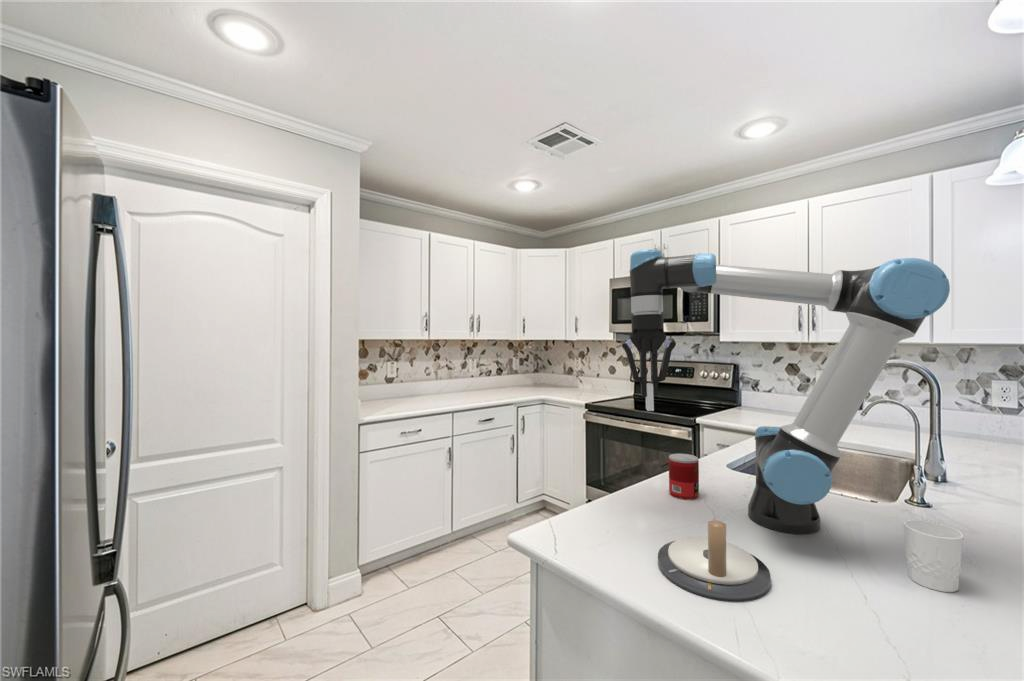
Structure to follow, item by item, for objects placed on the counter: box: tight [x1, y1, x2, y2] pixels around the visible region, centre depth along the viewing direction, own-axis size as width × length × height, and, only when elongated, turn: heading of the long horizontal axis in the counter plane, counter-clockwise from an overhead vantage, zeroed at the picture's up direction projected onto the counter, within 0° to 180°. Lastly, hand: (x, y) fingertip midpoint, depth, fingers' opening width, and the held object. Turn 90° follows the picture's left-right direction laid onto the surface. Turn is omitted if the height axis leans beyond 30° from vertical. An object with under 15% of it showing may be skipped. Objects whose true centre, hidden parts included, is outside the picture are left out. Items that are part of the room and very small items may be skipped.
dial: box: [668, 519, 758, 585], centre depth 86 cm, size 16×16×10 cm
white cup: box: [903, 519, 964, 593], centre depth 81 cm, size 8×8×10 cm
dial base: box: [657, 540, 772, 603], centre depth 86 cm, size 20×20×2 cm
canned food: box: [668, 453, 700, 500], centre depth 126 cm, size 8×8×11 cm
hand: (649, 409), depth 107 cm, fingers closed
